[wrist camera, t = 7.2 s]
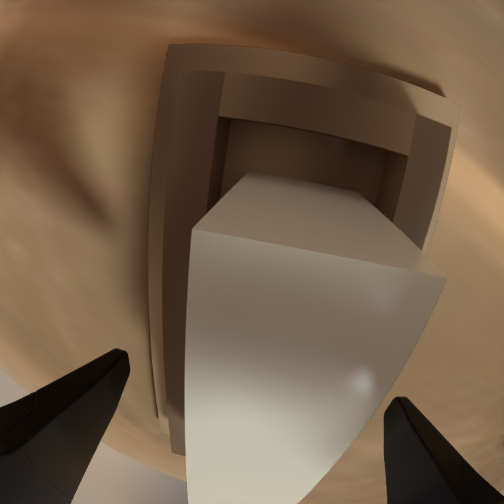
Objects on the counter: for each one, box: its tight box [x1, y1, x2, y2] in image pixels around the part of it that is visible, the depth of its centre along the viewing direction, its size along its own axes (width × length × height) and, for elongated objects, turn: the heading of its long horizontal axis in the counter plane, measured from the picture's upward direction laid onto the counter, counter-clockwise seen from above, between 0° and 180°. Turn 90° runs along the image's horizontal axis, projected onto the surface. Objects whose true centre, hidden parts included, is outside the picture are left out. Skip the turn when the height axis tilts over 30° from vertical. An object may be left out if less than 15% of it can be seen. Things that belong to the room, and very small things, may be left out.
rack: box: [148, 44, 460, 456], centre depth 11 cm, size 10×20×3 cm, turn 171°
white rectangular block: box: [185, 171, 447, 504], centre depth 9 cm, size 4×12×6 cm, turn 171°
